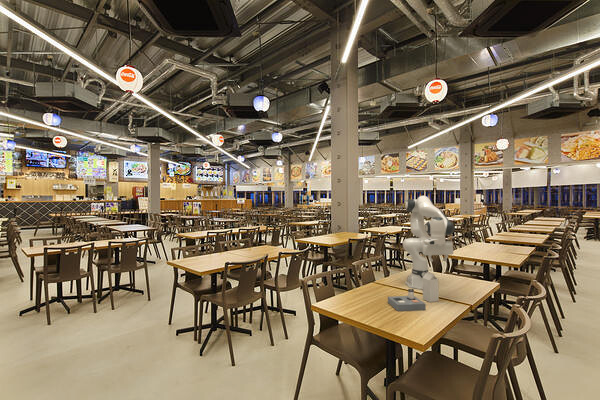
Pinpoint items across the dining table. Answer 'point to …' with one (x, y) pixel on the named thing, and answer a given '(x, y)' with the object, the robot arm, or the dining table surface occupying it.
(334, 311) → the dining table surface
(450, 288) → the dining table surface
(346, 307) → the dining table surface
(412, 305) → the socket board
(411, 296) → the plug
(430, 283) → the milk carton
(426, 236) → the robot arm
